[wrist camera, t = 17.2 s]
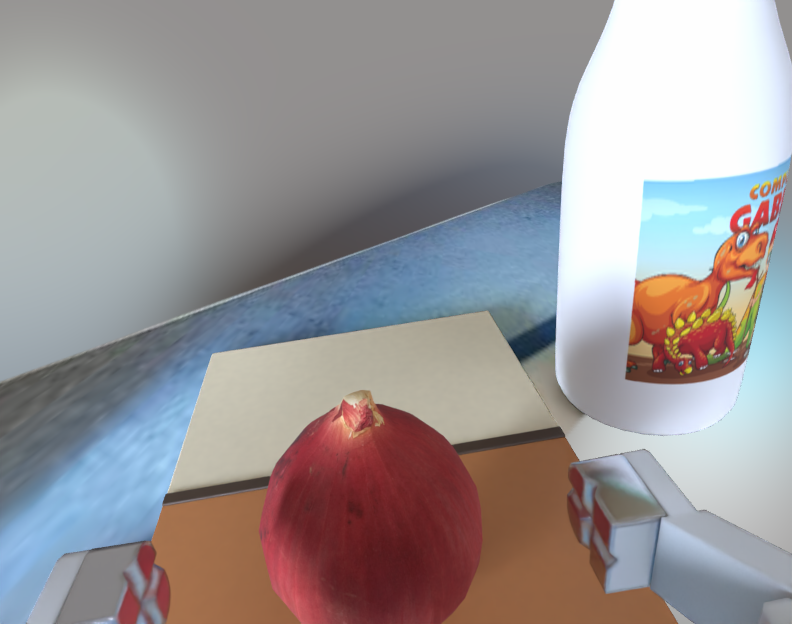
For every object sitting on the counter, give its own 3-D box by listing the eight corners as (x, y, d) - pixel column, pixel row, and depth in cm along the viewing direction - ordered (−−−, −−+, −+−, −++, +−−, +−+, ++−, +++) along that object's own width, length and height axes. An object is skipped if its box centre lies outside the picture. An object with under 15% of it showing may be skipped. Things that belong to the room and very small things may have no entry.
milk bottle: (545, 427, 24) (560, -164, 14) (562, 336, 30) (580, -118, 21) (752, 456, 21) (934, -246, 12) (722, 349, 27) (827, -165, 18)
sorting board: (51, 908, 12) (34, 892, 12) (215, 364, 31) (211, 351, 31) (744, 758, 13) (751, 739, 13) (488, 321, 32) (488, 308, 32)
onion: (250, 661, 16) (163, 444, 12) (352, 509, 20) (313, 317, 16) (441, 760, 13) (408, 524, 9) (510, 561, 17) (507, 347, 14)
